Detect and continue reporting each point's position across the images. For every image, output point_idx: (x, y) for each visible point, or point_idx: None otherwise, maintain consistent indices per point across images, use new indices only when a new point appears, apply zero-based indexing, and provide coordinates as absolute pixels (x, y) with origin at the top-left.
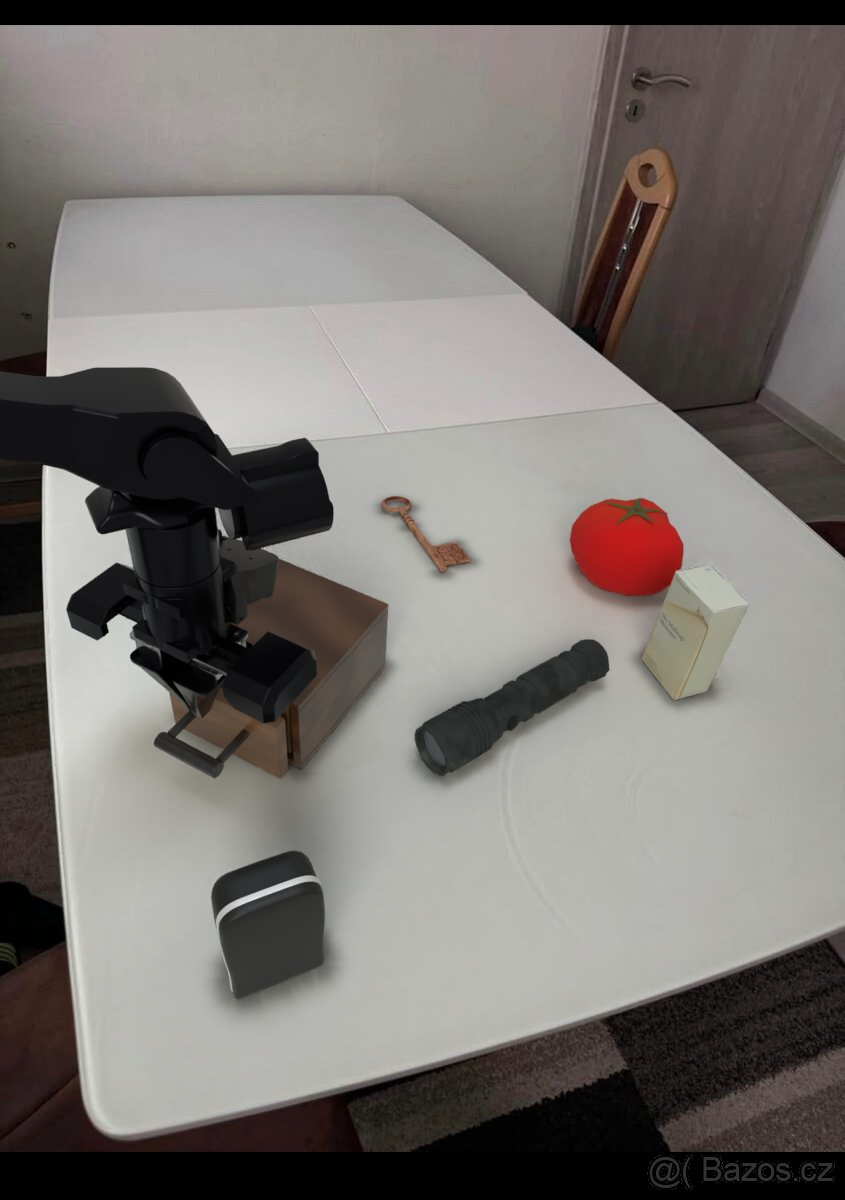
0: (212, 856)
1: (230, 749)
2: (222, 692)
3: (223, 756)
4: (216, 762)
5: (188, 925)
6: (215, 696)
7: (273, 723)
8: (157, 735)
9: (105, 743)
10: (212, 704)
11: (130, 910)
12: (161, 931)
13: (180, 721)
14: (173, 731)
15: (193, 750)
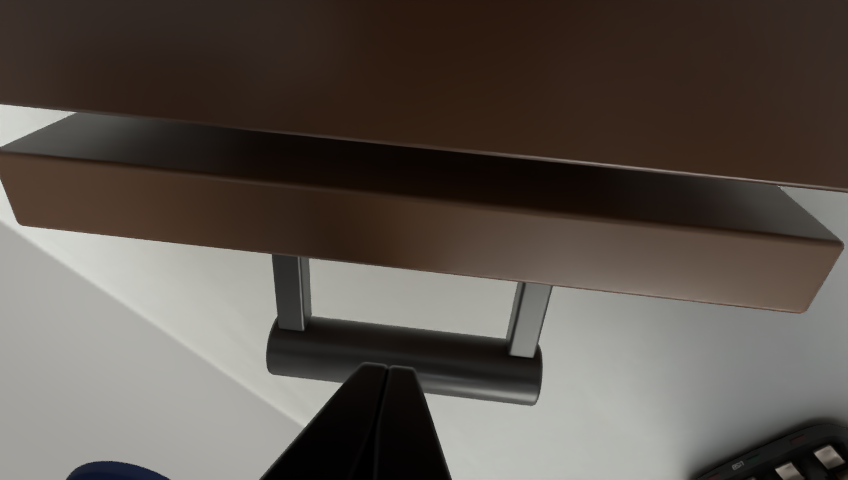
0: (556, 352)
1: (541, 316)
2: (384, 224)
3: (530, 344)
4: (530, 393)
5: (580, 455)
6: (443, 456)
7: (778, 296)
8: (268, 370)
9: None
10: (425, 401)
11: (467, 460)
12: (539, 471)
13: (282, 278)
14: (295, 320)
15: (424, 380)
